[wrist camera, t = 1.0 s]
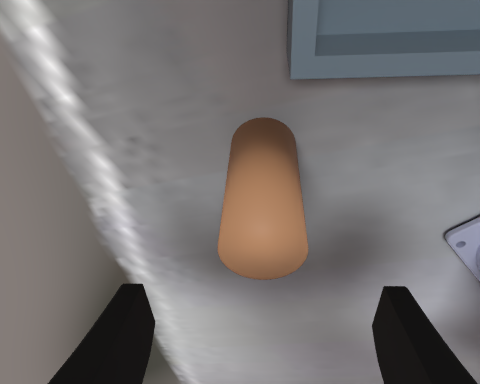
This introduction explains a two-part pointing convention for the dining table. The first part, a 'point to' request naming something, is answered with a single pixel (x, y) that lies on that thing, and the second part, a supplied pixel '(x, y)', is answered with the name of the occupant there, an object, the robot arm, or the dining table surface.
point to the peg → (263, 203)
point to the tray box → (382, 38)
